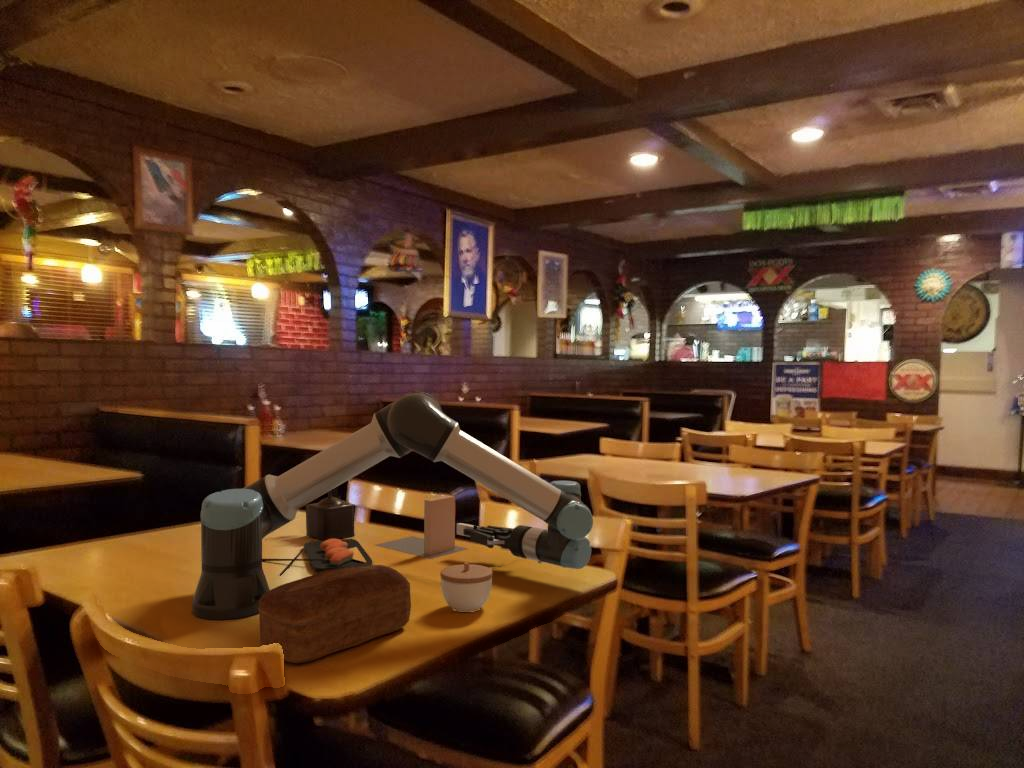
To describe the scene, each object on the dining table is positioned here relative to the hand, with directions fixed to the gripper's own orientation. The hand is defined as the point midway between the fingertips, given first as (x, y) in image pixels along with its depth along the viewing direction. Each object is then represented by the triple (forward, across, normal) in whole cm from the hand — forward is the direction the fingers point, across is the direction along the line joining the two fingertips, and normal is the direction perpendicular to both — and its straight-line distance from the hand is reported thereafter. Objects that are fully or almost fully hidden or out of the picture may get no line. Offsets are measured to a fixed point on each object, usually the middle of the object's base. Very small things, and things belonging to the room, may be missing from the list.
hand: (458, 528), depth 191 cm
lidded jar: (-28, -27, -8) cm, 40 cm away
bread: (-22, -55, -8) cm, 60 cm away
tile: (+7, 0, -7) cm, 10 cm away
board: (+14, 0, -8) cm, 16 cm away
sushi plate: (+28, -27, -9) cm, 40 cm away
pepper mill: (+48, -6, -8) cm, 49 cm away
